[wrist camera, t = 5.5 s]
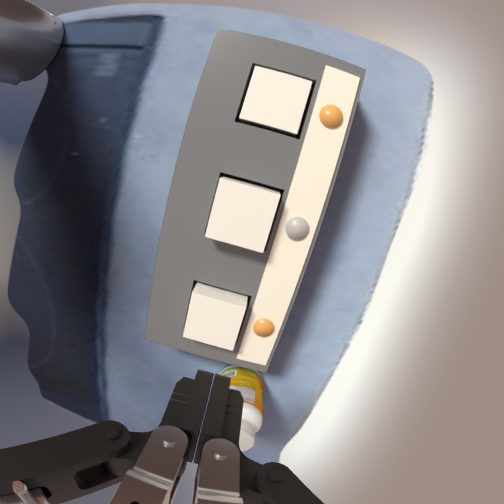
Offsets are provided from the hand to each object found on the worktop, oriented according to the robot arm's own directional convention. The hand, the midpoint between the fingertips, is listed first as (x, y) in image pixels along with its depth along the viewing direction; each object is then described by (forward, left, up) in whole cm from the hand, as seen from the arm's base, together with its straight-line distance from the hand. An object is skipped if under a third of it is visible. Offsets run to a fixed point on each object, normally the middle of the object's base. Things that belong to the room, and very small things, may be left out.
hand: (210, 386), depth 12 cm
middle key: (+3, +5, -14) cm, 15 cm away
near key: (+8, +12, -15) cm, 21 cm away
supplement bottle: (-5, -14, -18) cm, 23 cm away
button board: (+3, +5, -18) cm, 18 cm away
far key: (-3, -2, -14) cm, 14 cm away
